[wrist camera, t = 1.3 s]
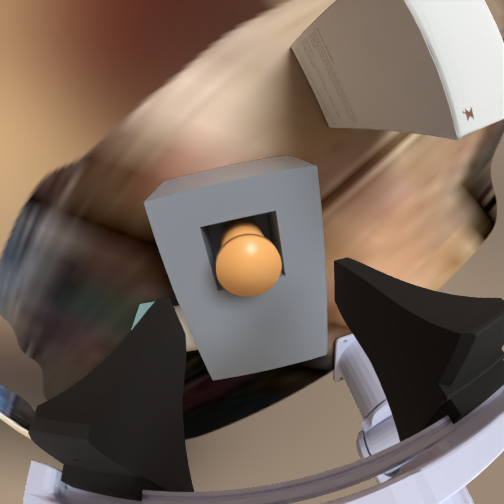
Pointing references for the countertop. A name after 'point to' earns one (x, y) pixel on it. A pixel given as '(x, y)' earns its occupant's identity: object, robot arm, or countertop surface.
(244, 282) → the plunger
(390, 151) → the countertop surface
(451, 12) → the supplement box
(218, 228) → the housing
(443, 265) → the countertop surface
